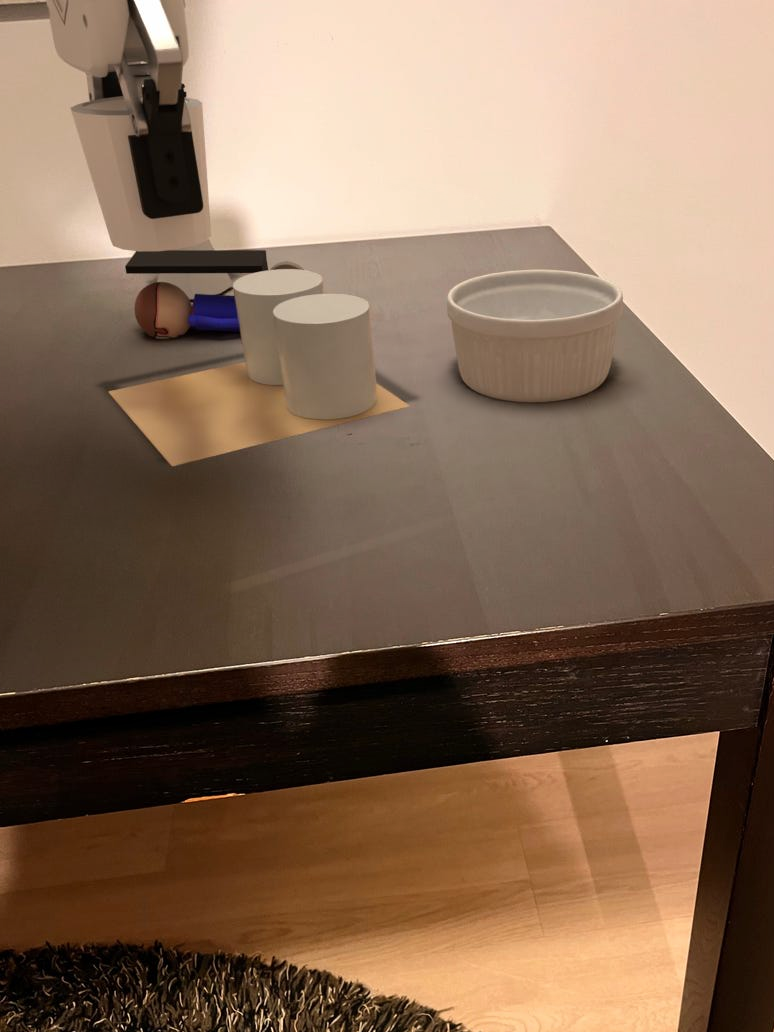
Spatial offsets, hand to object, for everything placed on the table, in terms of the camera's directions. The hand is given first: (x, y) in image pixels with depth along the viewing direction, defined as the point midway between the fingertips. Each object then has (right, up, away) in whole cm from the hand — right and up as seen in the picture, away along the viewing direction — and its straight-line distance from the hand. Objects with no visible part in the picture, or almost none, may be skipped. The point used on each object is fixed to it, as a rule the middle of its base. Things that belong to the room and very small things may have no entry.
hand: (153, 198), depth 57 cm
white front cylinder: (+7, -7, +18) cm, 21 cm away
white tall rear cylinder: (+3, -3, +24) cm, 24 cm away
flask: (-10, +10, +45) cm, 47 cm away
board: (+1, -7, +20) cm, 21 cm away
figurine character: (-4, +2, +33) cm, 34 cm away
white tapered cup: (0, -2, +1) cm, 2 cm away
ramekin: (+23, -5, +22) cm, 32 cm away
